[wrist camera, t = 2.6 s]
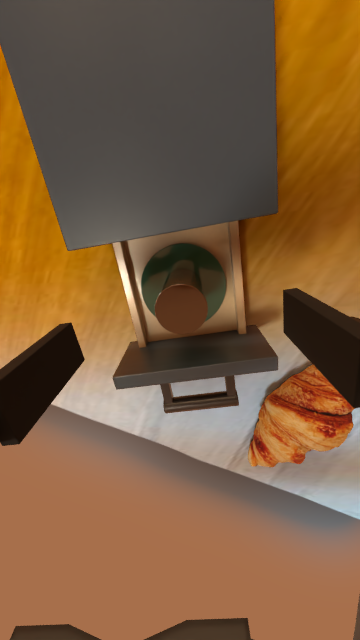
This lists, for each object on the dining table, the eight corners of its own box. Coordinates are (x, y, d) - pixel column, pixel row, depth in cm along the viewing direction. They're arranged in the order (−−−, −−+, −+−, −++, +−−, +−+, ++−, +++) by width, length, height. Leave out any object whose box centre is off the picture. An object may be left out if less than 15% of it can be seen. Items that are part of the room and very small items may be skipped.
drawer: (258, 377, 29) (279, 421, 23) (143, 390, 31) (131, 436, 24) (245, 151, 21) (272, 115, 14) (87, 184, 22) (44, 165, 16)
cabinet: (247, 218, 24) (278, 213, 16) (107, 243, 26) (67, 251, 17) (231, -38, 18) (270, -275, 9) (46, 14, 19) (-65, -151, 11)
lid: (220, 235, 23) (235, 238, 16) (229, 319, 26) (244, 353, 19) (132, 251, 24) (108, 260, 16) (151, 330, 27) (137, 367, 20)
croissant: (258, 440, 39) (293, 492, 33) (215, 444, 34) (248, 508, 28) (350, 342, 32) (417, 387, 26) (315, 327, 26) (389, 380, 20)
